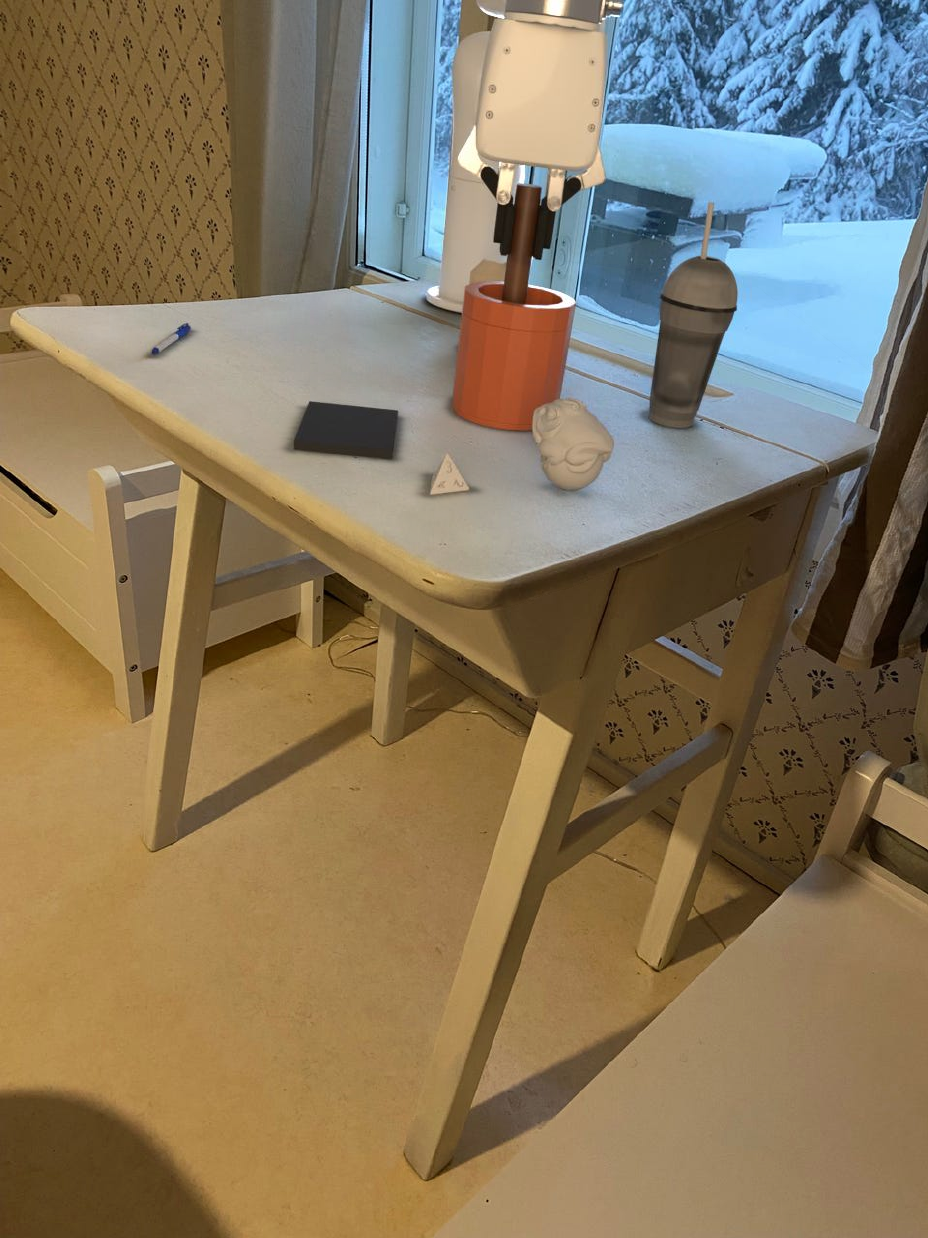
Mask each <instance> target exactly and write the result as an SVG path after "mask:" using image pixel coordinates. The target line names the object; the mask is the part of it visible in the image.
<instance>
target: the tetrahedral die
mask: <svg viewBox="0 0 928 1238" xmlns="http://www.w3.org/2000/svg"><path fill="white" fill-rule="evenodd" d="M430 481H431V482H430V490H429V494H430V496H434V495H441V494H449V493H451V494H452V493H459V492H466V491H470V487H469V486H468V484H467V482H466V480H465V479H464V477H463V475H462V474H461V472H460V471H459V468H458V467H457V465H456V464H455V462H454V460H453V458H452V457H451V455H450V453H448V452H447V453H446V454H445V455H444V457H443V459H442V460H441V462H440V463H439V465H438V467H437V468H436V470H435V471H434V472H433V475H432V476H431V480H430Z"/></svg>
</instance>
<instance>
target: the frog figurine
mask: <svg viewBox="0 0 928 1238" xmlns="http://www.w3.org/2000/svg"><path fill="white" fill-rule="evenodd" d="M531 431H532V436H533V439H534V444H536V445H538V446H537V450H538V453H539V455H540V466H541V469H542V472H543V474H544V476H545V477H546V478H547V479H548V481H549V482H550V483H551V484H553V485H554V486H556V487H558V488H559V489H563V490H567V491H576V490H581V489H584V488H585V487H588V486H589V485H591V484H592V483H594V482H595V481H596V479H598V477H599V475H600V474H601V472H602V470H603V468H604V467H603V466H604V465H605V464H604V463H606V462H608V461H609V459H610V458H611V456H612V453H613V450H614V446H615V441H614V438H613V436H612V435H611V433H610V432H609V431H608V429H607V427H606V426H605V425H604V423H603V422H601V420H599V419H598V417H597V416H596V415H595V414H594V413H592V412H591V411H589V410H588V409H587V405H586V404H585V403H584V402H583V401H580V400H579V399H577V398H575V397H564V398H560V399H557V400H555V401H553V402H552V403H548V404H544V405H543V406H541V407H538V408H537V409H536V410H535V411H534V414H533V422H532V430H531Z"/></svg>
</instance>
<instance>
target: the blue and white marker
mask: <svg viewBox="0 0 928 1238" xmlns="http://www.w3.org/2000/svg"><path fill="white" fill-rule="evenodd" d="M191 329H192V327H191V325H190V323H188V322H186V323H183V324H181V325H180V326H179V327H177V330H176V331H174V332H173V333H172V334H171V335H170V336H168V337H167V338H165V339H164V340H163V341H161V342H160V343H158V344H156V346H154V347H153V348H152V350H151V351H150V353H151V354H152V355H157V354H160V353H161V352H162V351H163V350H165V349H166V348H167V347H168V346H170V345H172V344H173V343H175V342H176V341H177V340H180V339H181V338H182V337H183V336H185V335H186V334H188V333H189V332H190V331H191Z"/></svg>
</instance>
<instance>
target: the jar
mask: <svg viewBox="0 0 928 1238" xmlns="http://www.w3.org/2000/svg"><path fill="white" fill-rule="evenodd" d="M503 285H504V282H498V281H484V282H474V283H471V284H469V285H466V286H465V290H464V300H463V309H462V313H461V320H460V329H459V338H458V345H457V346H458V347H457V355H456V366H455V371H454V372H455V374H454V382H453V392H452V404H451V407H452V410H453V412H455V414H456V415H458V416H459V417H461V418H463V419H464V420H466V421H469V422H471V423H474V424H477V425H480V426H484V427H488V428H492V429H499V430H505V431H523V432H524V431H532V422H533V414H534V411H535V410H536V409H537V408H538V407H541V406H543V405H544V404H548V403H552V402H553V401H555V400H557V399H561V395H562V390H563V389H562V388H563V383H564V377H565V371H566V366H567V360H568V353H569V348H570V342H571V335H572V330H573V324H574V318H575V312H576V307H577V302H576V301H575V298H573V297H571V296H569V295H568V294H565V293H563V292H561V291H558V290H554V289H551V288H548V287H543V286H537V285H534V284H529V285H528V292H527V299H526V304H518V303H511V302H506V301H502V293H503Z"/></svg>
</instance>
